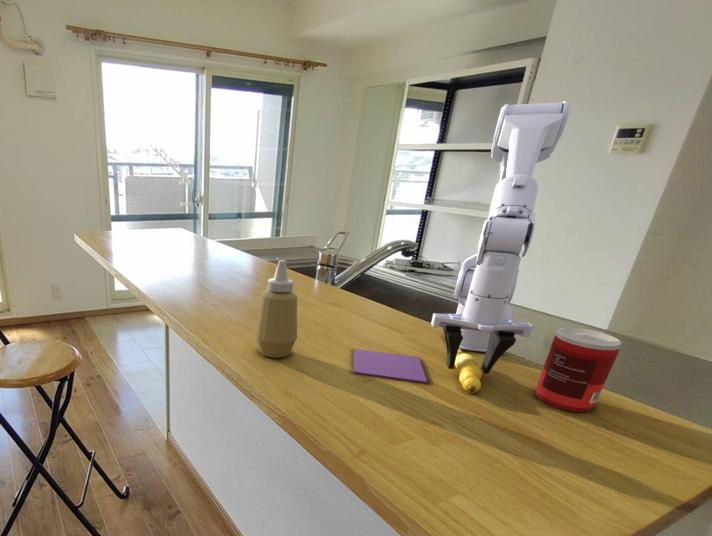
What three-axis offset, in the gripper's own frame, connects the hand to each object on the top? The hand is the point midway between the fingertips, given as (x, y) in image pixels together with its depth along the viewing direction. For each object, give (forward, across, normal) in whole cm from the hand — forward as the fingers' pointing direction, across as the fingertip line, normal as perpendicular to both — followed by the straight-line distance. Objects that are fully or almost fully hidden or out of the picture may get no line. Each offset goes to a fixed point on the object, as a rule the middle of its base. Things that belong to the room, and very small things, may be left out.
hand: (467, 368), depth 75 cm
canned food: (+2, +13, -5) cm, 14 cm away
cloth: (+1, -13, 0) cm, 13 cm away
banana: (+1, 0, 0) cm, 1 cm away
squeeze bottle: (+2, -34, -1) cm, 34 cm away
